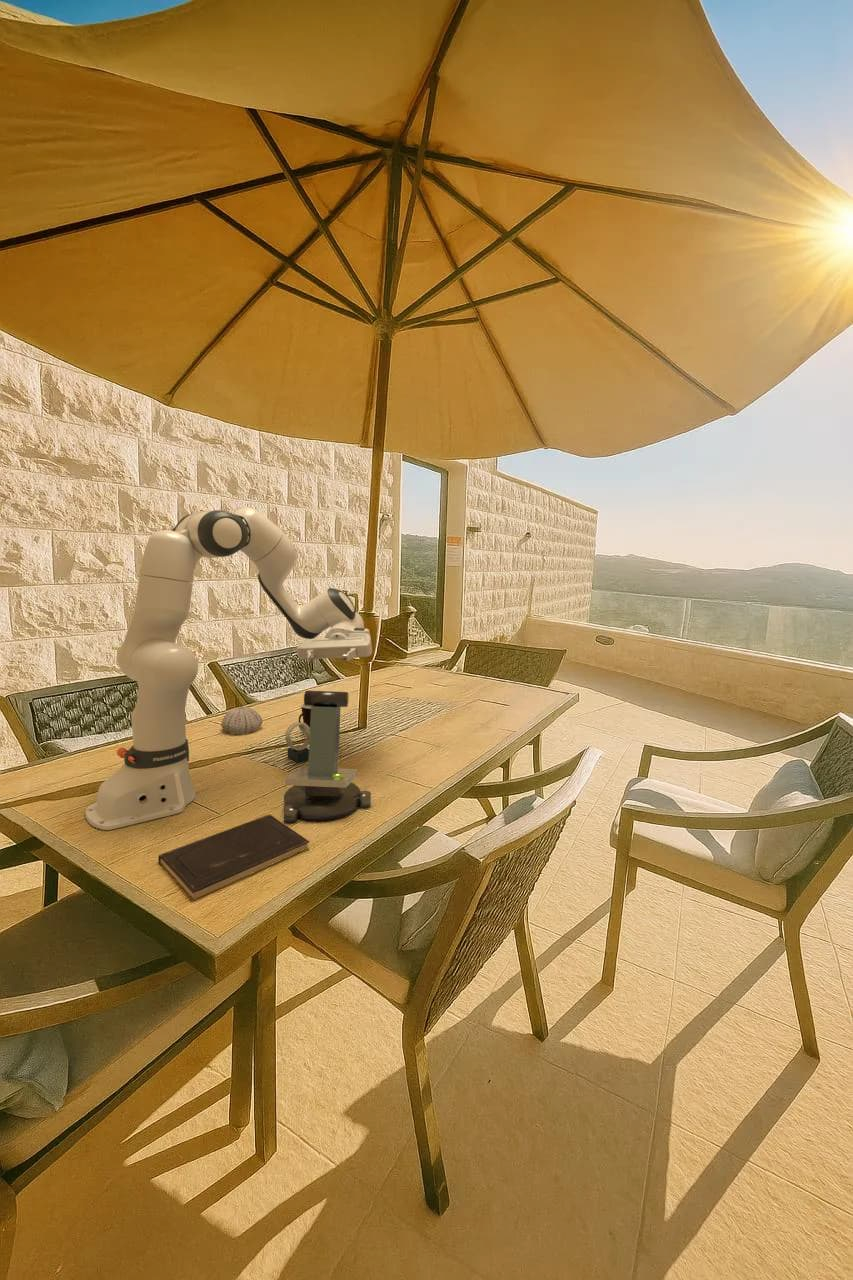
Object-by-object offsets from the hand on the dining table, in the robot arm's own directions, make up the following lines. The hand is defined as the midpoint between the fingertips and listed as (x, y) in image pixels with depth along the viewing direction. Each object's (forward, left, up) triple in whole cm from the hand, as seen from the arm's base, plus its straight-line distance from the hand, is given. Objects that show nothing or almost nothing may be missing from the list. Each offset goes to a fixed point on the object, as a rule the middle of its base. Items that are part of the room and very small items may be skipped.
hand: (327, 659), depth 130 cm
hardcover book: (-34, -16, -34) cm, 51 cm away
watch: (+3, +18, -33) cm, 38 cm away
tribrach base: (-8, -11, -33) cm, 36 cm away
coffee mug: (+18, +34, -33) cm, 50 cm away
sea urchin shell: (+4, +54, -33) cm, 63 cm away
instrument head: (-9, -10, -27) cm, 30 cm away
